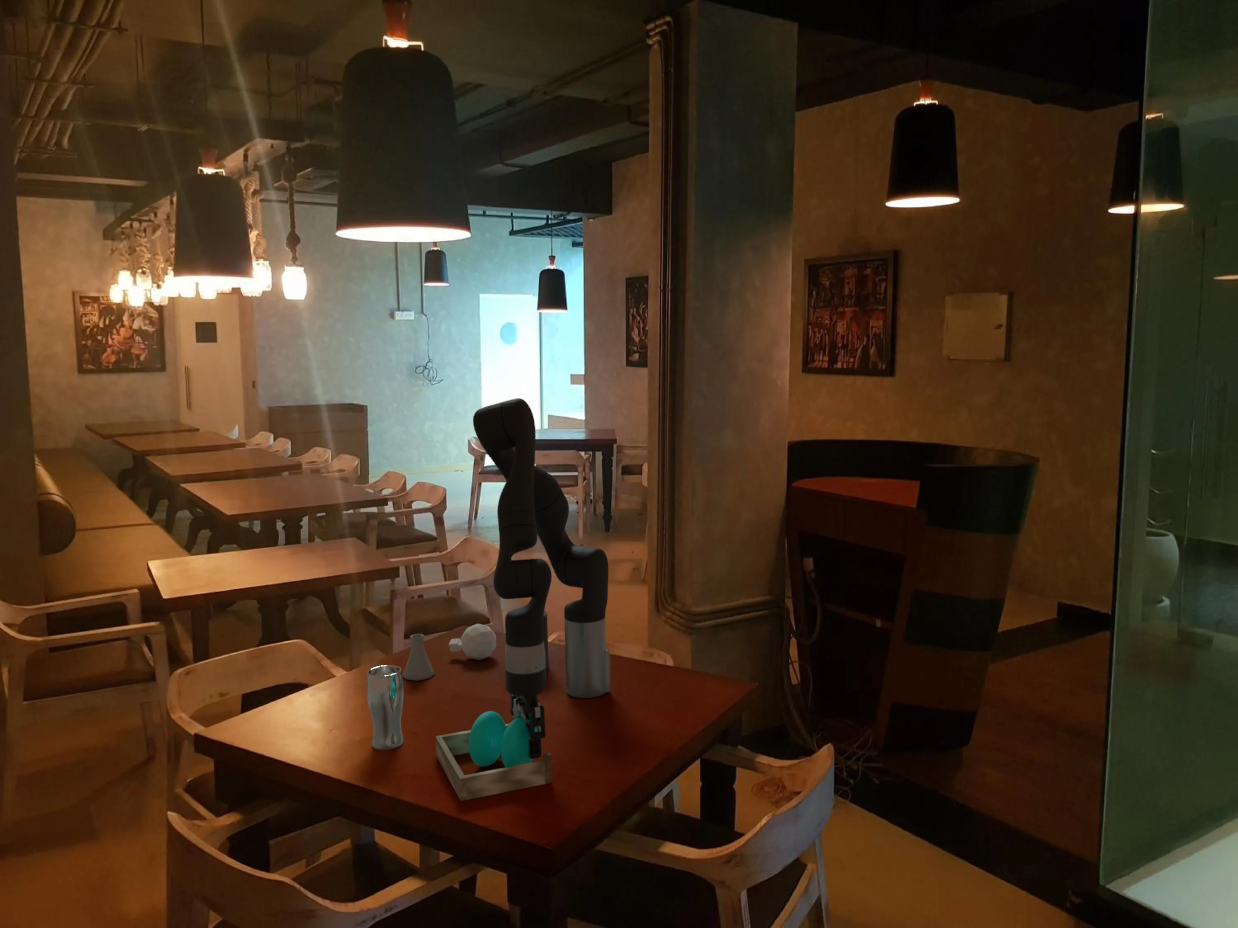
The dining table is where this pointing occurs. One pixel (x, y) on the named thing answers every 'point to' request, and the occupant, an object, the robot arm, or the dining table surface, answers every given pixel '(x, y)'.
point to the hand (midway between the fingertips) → (528, 748)
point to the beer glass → (385, 705)
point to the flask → (418, 661)
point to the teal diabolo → (499, 741)
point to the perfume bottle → (475, 642)
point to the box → (487, 780)
